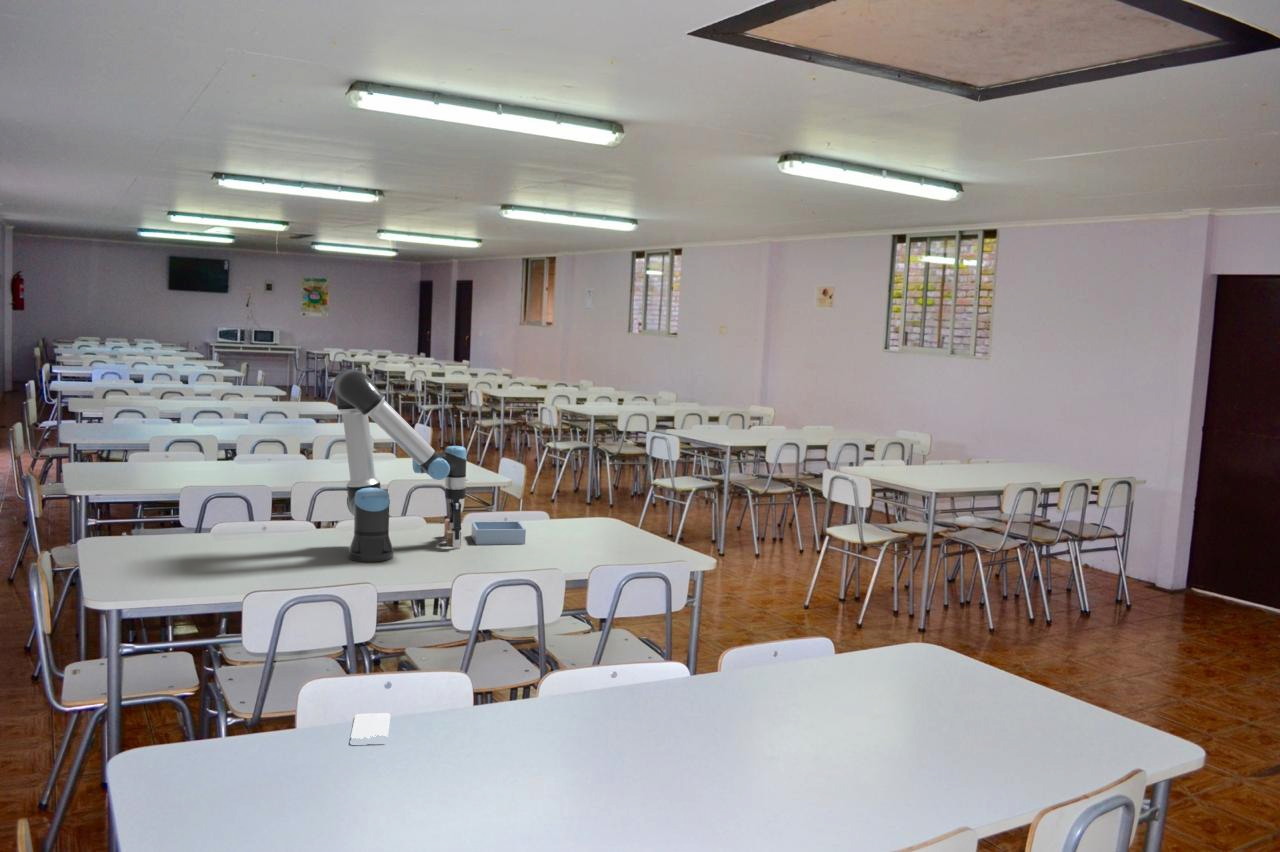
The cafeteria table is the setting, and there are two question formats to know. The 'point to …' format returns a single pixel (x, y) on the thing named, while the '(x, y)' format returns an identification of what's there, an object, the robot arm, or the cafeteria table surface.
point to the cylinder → (446, 526)
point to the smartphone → (371, 725)
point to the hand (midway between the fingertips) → (454, 543)
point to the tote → (498, 532)
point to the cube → (450, 538)
